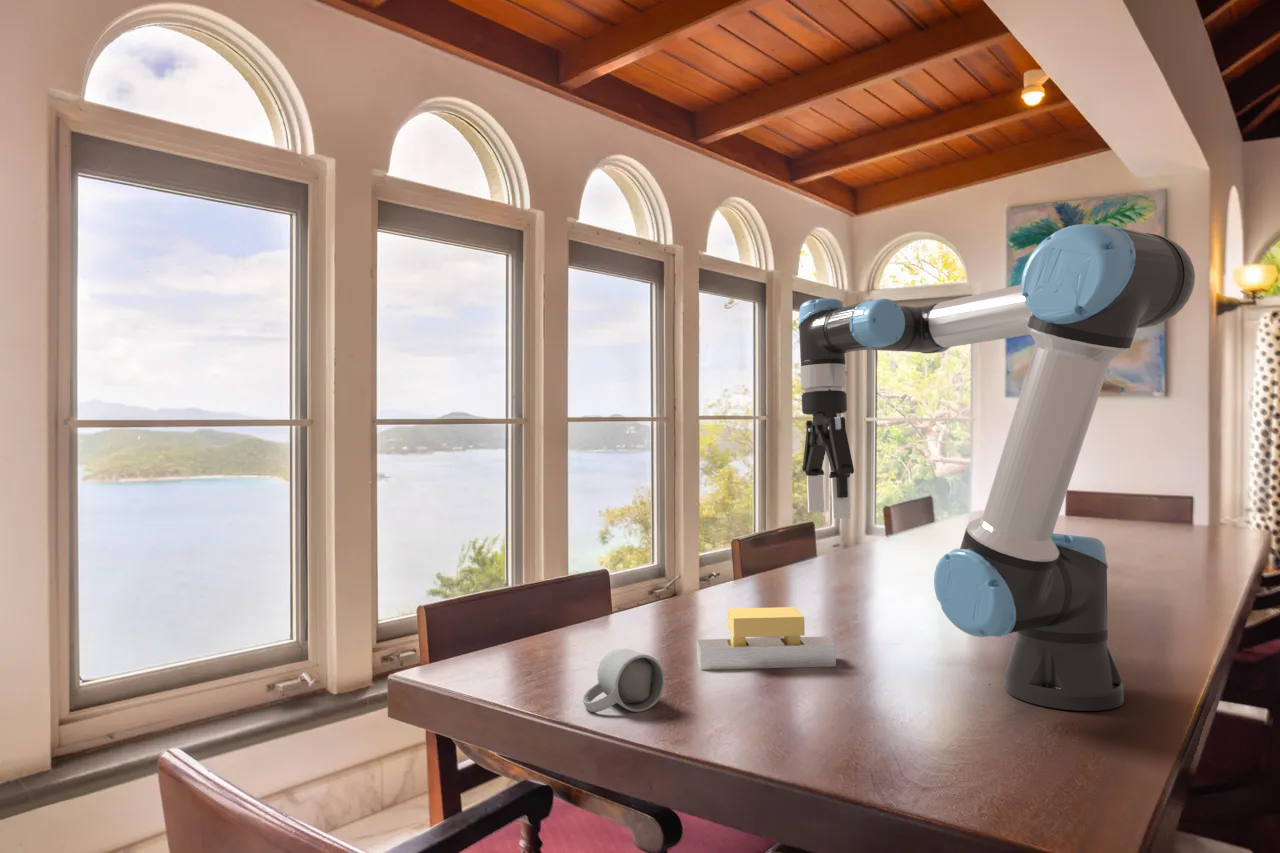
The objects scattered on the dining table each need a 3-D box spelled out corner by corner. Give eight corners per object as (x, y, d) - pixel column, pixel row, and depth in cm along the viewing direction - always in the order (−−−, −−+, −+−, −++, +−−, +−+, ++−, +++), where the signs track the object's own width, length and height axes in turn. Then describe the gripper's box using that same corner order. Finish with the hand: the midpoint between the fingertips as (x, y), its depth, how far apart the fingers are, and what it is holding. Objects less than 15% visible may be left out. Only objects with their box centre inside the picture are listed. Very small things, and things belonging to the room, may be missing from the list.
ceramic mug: (639, 691, 123) (637, 639, 123) (666, 707, 116) (664, 652, 116) (573, 704, 118) (571, 650, 118) (597, 721, 111) (595, 664, 111)
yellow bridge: (805, 663, 134) (804, 616, 134) (734, 665, 133) (733, 618, 133) (794, 651, 141) (793, 607, 141) (727, 652, 141) (727, 608, 141)
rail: (835, 666, 135) (835, 644, 135) (700, 669, 134) (700, 648, 134) (826, 657, 140) (826, 636, 140) (697, 660, 140) (696, 639, 140)
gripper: (871, 384, 130) (876, 520, 130) (822, 395, 155) (826, 509, 154) (825, 385, 130) (829, 521, 129) (783, 396, 154) (787, 510, 154)
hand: (827, 515), depth 142 cm, fingers open, 13 cm apart
